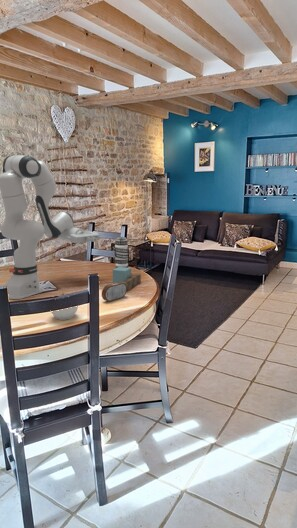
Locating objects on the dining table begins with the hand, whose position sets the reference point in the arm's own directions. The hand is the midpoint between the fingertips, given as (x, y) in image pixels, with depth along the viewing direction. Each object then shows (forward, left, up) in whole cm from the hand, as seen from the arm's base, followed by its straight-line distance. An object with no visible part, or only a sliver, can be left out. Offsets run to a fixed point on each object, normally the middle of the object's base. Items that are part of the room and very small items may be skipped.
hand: (95, 240), depth 203 cm
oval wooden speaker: (-22, -22, -26) cm, 41 cm away
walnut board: (+2, -21, -26) cm, 33 cm away
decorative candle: (+21, -6, -26) cm, 34 cm away
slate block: (+2, -15, -26) cm, 30 cm away
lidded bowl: (-52, -12, -26) cm, 59 cm away
